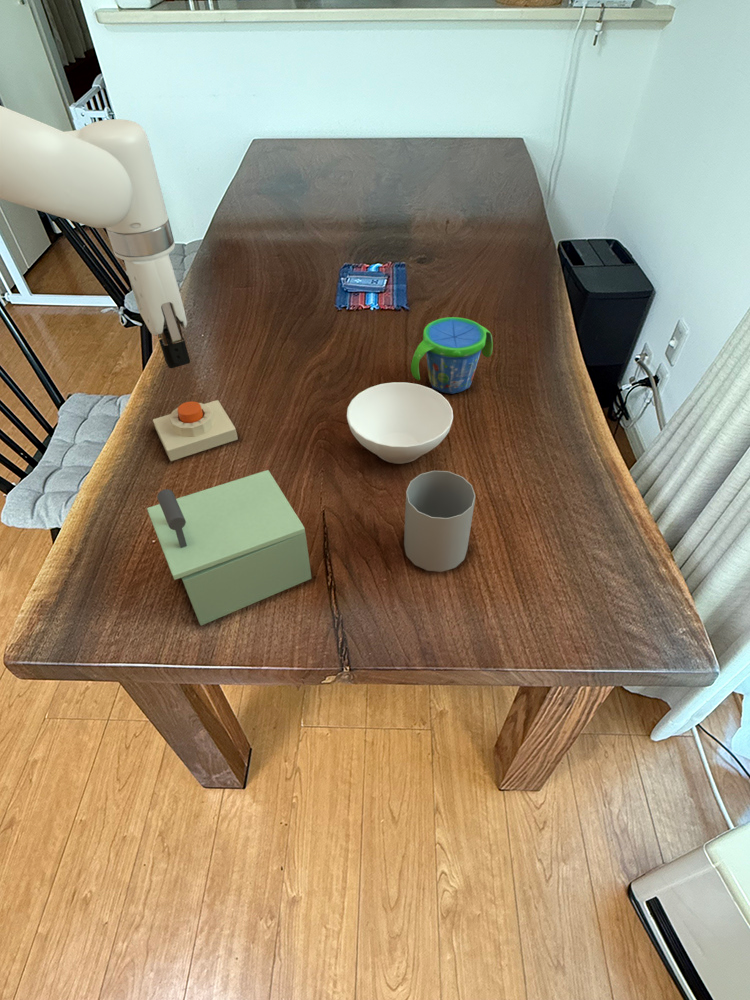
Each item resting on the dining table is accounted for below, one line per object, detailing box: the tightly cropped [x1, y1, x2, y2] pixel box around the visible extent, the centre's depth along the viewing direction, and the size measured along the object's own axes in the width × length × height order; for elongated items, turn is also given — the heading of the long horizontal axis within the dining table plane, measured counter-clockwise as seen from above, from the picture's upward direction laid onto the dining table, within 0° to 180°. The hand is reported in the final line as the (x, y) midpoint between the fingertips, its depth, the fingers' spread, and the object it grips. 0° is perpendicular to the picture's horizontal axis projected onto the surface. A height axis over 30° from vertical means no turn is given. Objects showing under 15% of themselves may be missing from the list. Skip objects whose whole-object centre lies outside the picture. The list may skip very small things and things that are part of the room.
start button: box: [177, 400, 203, 423], centre depth 94 cm, size 4×4×2 cm
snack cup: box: [410, 316, 494, 395], centre depth 103 cm, size 16×10×10 cm
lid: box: [146, 469, 306, 581], centre depth 69 cm, size 15×12×6 cm
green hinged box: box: [180, 532, 312, 627], centre depth 74 cm, size 15×12×9 cm
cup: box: [403, 470, 477, 573], centre depth 76 cm, size 8×8×10 cm
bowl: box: [346, 381, 454, 465], centre depth 92 cm, size 16×16×7 cm
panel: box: [152, 399, 239, 462], centre depth 96 cm, size 11×9×4 cm
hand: (178, 363), depth 88 cm, fingers closed
